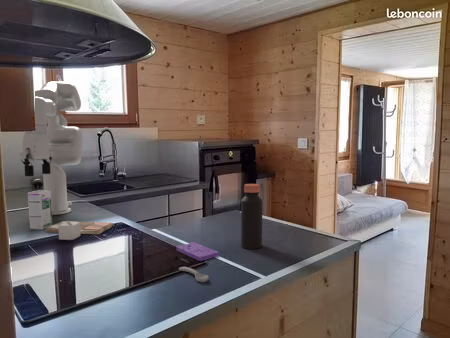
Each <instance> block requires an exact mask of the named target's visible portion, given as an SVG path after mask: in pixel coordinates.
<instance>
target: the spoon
mask: <svg viewBox="0 0 450 338" xmlns="http://www.w3.org/2000/svg"><path fill="white" fill-rule="evenodd" d="M178 270H179V271H182V272H188V273H191V274H193V275H194V276H195V277H194V279H195V280H196V281H197V282H199V283H206V282H208V281H209V275H208V274H205V273H200V272H198V271H197V270H195V269H194V268H192V267H191V268H190V267H187V266H180V267H179V268H178Z"/></svg>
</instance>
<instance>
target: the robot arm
mask: <svg viewBox="0 0 450 338" xmlns="http://www.w3.org/2000/svg"><path fill="white" fill-rule="evenodd" d="M34 91H35V118H36V131H34V132H25V131H24V134H23V136H22V148H21V149H22V151H21V152H20V154H19V157H20V160H21V162H22V165H23V166H24V176H25V177H34V174H35V173H34V172H35V170H34V169H35V168H34V165H33V164H34V161H40V162H41V170H42V171H41V172H42V177H43V181H42V182H43V190H50V193H51V208H52V216H56V215H58V216H59V215H65V214H68V213H70V212H72V208H70V207H69V206H71V205H72V204H73V201H72V200H68V195H67V194H68V192H67V189H68V188H67V174H66V172H65V170H63V168H62V167H61V166H75V165H79V164H80V163H81V161H82V155H83V154H82V153H83V132H82V130H81V129H80V127H77V126H68V119H66V117H65V116H64V115H62V114H61V113H60V112H77V111H79V110H80V109H81V107H82V106H81V105H82V101H81V97H80V94H79V91H78V89H77V88H76V86H75V84H73V83H72V82H69V81H67V82H66V81H49V82H45V83H44V84H43V86H42V87H41V88H40V89H38V90H34Z"/></svg>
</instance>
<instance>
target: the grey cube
mask: <svg viewBox="0 0 450 338" xmlns="http://www.w3.org/2000/svg"><path fill="white" fill-rule="evenodd" d="M80 222H81V221H77V222H66V223H63V224H61V225H58V227H59V233H58V240H61V241H62V240H65V241H66V240H67V241H72V240H75V239H77V238H79V237H81V234H80Z"/></svg>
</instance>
